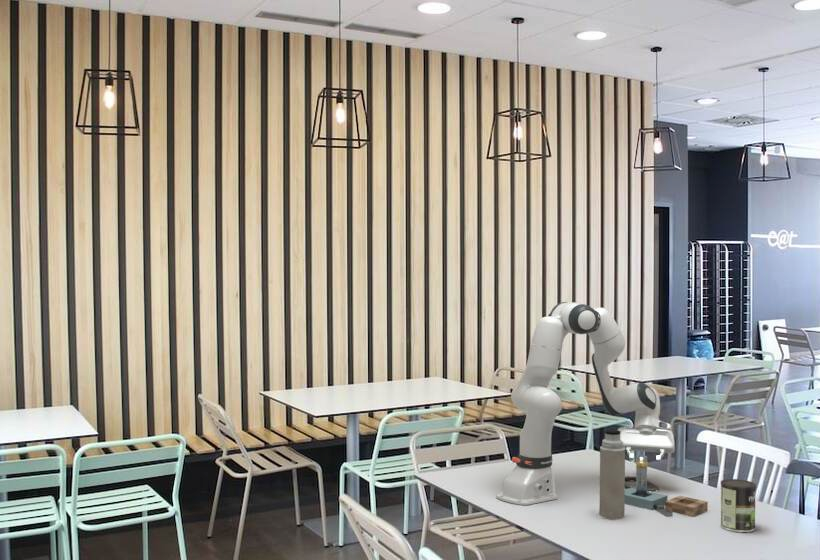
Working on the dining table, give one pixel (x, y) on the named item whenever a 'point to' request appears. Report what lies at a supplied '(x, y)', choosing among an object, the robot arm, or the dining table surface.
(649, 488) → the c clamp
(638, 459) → the gray gold-collared cylinder
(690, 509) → the socket block
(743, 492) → the coffee can
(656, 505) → the drift key
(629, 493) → the teal flat box
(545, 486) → the robot arm
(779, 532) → the dining table surface
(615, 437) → the thermos bottle
